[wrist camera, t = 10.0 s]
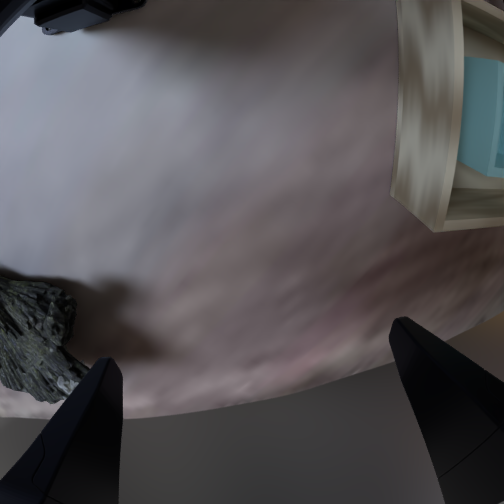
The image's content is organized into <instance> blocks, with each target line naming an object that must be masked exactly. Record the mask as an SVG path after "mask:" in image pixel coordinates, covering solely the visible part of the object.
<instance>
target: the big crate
mask: <svg viewBox="0 0 504 504" xmlns="http://www.w3.org/2000/svg"><path fill="white" fill-rule="evenodd" d="M396 6H397V22H398V47H399V85H398V112H397V129H396V142H395V153H394V163H393V173H392V181H391V189H390V195H391V196H392V197H393V198H394V199H396V200H397V201H398V202H399V203H400V204H402V205H403V206H404V207H405V208H406V209H407V210H409V211H410V212H411V213H412V214H413V215H414V216H416V217H417V218H418V219H419V220H420V221H421V222H422V223H423V224H425V225H426V226H427V227H428V228H429V229H430V230H431V231H432V232H433V233H434V232H444V231H455V230H465V229H476V228H486V227H497V226H504V178H500V177H489V176H485V175H483V174H482V173H480V172H478V171H476V170H474V169H473V168H471V167H469V166H467V165H465V164H463V163H462V162H460V161H458V160H457V153H458V146H459V138H460V129H461V118H462V105H463V87H464V56H466V57H475V58H484V59H491V60H498V61H500V62H502V63H504V12H503V11H502V10H500V9H498V8H497V7H495V6H493V5H491V4H489V3H488V2H486V1H484V0H396Z"/></svg>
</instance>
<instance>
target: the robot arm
mask: <svg viewBox="0 0 504 504" xmlns="http://www.w3.org/2000/svg"><path fill="white" fill-rule="evenodd" d="M146 2H147V0H141V1H140V2H139V3H137V4H134V0H0V37H1V36H2V35H3V33H4V32H5V31H6V30H7V29H8V28H9V27H10V26H11V25H12V24H13V23H14V22H15V21H16V20H17V19H18V18H19V17H20V16H26V17H31V18H34V24H35V25H37V26H39V27H42V32H43V33H44V34H46V35H53V34H55V33H58V32H60V31H66V32H73V31H76V30H79V29H82V28H85V27H89V26H92V25H95V24H99V23H102V22H106V21H109V19H110V18H111V17H112V15H114V14H118V13H122V12H126V11H131V10H135V9H139V8H142V7H143V6H144V5H145V4H146ZM49 28H50V29H51V30H49ZM389 343H390V346H391V349H392V352H393V356H394V359H395V362H396V365H397V369H398V372H399V376H400V379H401V381H402V384H403V387H404V389H405V391H406V394H407V396H408V399H409V401H410V403H411V406H412V409H413V411H414V414H415V416H416V419H417V422H418V424H419V427H420V429H421V432H422V435H423V438H424V440H425V443H426V446H427V449H428V452H429V454H430V457H431V460H432V463H433V466H434V469H435V472H436V475H437V478H438V482H439V485H440V488H441V491H442V494H443V498H444V501H445V504H504V382H502V381H501V380H499V379H498V378H496V377H495V376H493V375H492V374H491V373H489V372H488V371H486V370H484V369H483V368H482V367H480V366H479V365H478V364H476V363H475V362H473V361H472V360H470V359H469V358H467V357H466V356H465V355H463V354H461V353H460V352H459V351H457V350H456V349H454V348H453V347H451V346H450V345H448V344H447V343H446V342H444V341H443V340H441V339H440V338H438V337H437V336H435V335H434V334H432V333H431V332H429V331H428V330H426V329H425V328H423V327H422V326H420V325H419V324H417V323H416V322H414V321H413V320H411V319H410V318H408V317H406V316H404V317H399V318H396V319H395V320H394V321H393V324H392V327H391V331H390V334H389ZM122 425H123V376H122V373H121V371H120V369H119V367H118V366H117V364H116V362H115V361H114V359H113V358H112V357H101V358H99V359H98V360H97V361H96V363H95V364H94V365H93V366H92V368H91V369H90V370H89V371H88V372H87V374H86V375H85V376H84V377H83V379H82V380H81V381H80V382H79V384H78V385H77V386H76V387H75V389H74V390H73V391H72V392H71V394H70V395H69V396H68V398H67V399H66V400H65V401H64V403H63V404H62V405H61V406H60V408H59V409H58V410H57V412H56V413H55V414H54V416H53V417H52V418H51V419H50V421H49V422H48V423H47V425H46V426H45V427H44V429H43V430H42V432H41V433H40V434H39V435H38V436H37V438H36V439H35V441H34V442H33V443H32V444H31V446H30V447H29V448H28V450H27V451H26V452H25V453H24V454H23V455H22V457H21V458H20V459H19V460H18V461H17V462H16V463H15V465H14V466H13V467H12V468H11V469H10V470H9V471H8V472H7V473H6V475H5V476H4V477H3V478H2V479H1V480H0V504H118V503H119V501H118V499H119V497H118V496H119V469H120V451H121V436H122Z"/></svg>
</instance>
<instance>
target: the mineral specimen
mask: <svg viewBox="0 0 504 504" xmlns="http://www.w3.org/2000/svg"><path fill="white" fill-rule="evenodd" d="M76 306H77V303H76V300H75V299H73V298H71V295H69V296H67V295H65V292H64V290H61V289H60V288H58V287H55V286H53V285H51V284H49V283H45V282H30V281H14V280H10V279H7V278H4V277H1V276H0V380H1V383H2V384H3V386H6V388H10V389H12V390H15V391H21V392H26V393H30V394H31V395H32V396H33V397H34V398H35V399H36V400H38V401H40V402H43V401H47V402H48V403H50V404H54V403H57V402H58V401H60V400H64V399H67V398H68V396H69V395H70V394H71V392H72V391H73V390H74V389H75V387H76V386H77V385H78V384H79V382H80V381H81V380H82V379H83V377H84V376H85V375H86V374H87V372H88V371H89V370H90V369H89V368H88V367H87V366H85V365H84V361H83V360H82V361H81V362H80V361H78V360H77V359H76V358H75V357H73V356H72V355H71V354H70V353H69V352H68V350H67V349H66V347H65V344H66V343H67V342H68V341H69V340H70V339H71V338H72V337H73V325H74V321H75V317H76V315H77V314H76Z"/></svg>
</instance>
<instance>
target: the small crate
mask: <svg viewBox="0 0 504 504" xmlns="http://www.w3.org/2000/svg"><path fill="white" fill-rule="evenodd" d="M457 160H458V161H460V162H462V163H463V164H465V165H467V166H469V167H471V168H473V169H474V170H476V171H478V172H480V173H482V174H483V175H485V176H489V177H500V178H504V63H502V62H500V61H498V60H491V59H484V58H475V57H466V56H464V87H463V105H462V118H461V129H460V138H459V146H458V153H457Z"/></svg>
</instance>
